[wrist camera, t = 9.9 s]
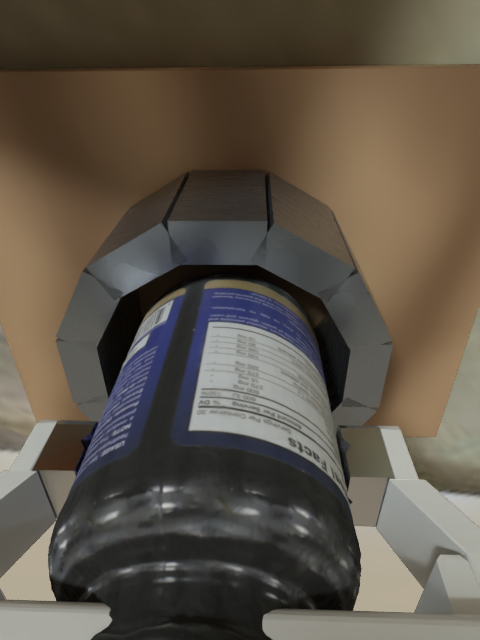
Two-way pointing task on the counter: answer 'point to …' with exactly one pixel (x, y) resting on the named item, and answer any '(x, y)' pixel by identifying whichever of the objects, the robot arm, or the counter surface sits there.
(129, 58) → the counter surface
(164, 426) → the pill bottle
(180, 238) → the rosette collar
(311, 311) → the collar base board
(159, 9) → the counter surface
